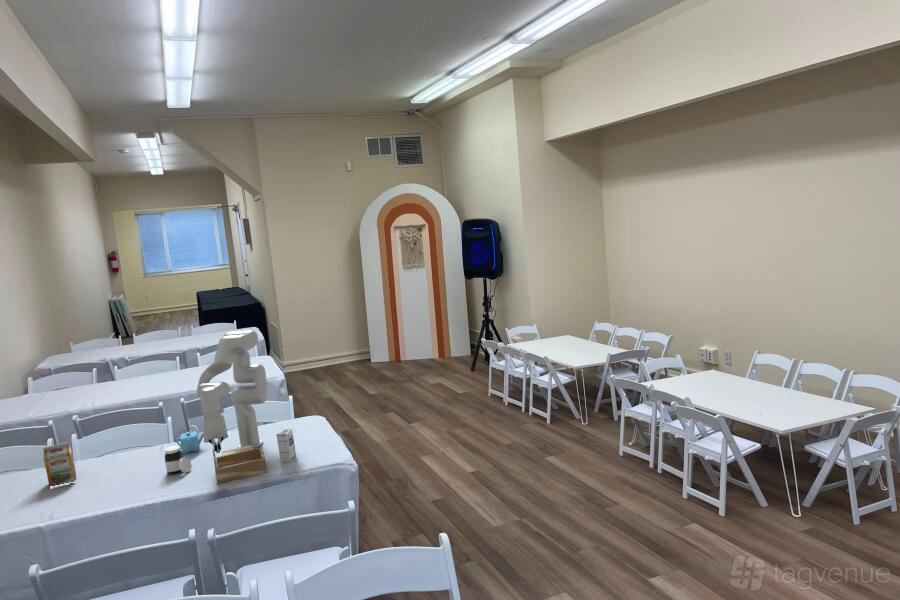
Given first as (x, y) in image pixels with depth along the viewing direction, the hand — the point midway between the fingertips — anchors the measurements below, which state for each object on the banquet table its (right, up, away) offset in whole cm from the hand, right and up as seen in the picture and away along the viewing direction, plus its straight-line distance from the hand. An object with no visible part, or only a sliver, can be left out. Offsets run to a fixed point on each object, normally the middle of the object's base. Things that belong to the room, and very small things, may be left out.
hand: (218, 452), depth 298 cm
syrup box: (+29, -7, +15) cm, 33 cm away
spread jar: (-23, -12, +13) cm, 29 cm away
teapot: (-27, -8, +38) cm, 48 cm away
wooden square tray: (+8, -10, +8) cm, 15 cm away
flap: (-1, -1, 0) cm, 2 cm away
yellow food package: (-78, -18, +12) cm, 81 cm away
